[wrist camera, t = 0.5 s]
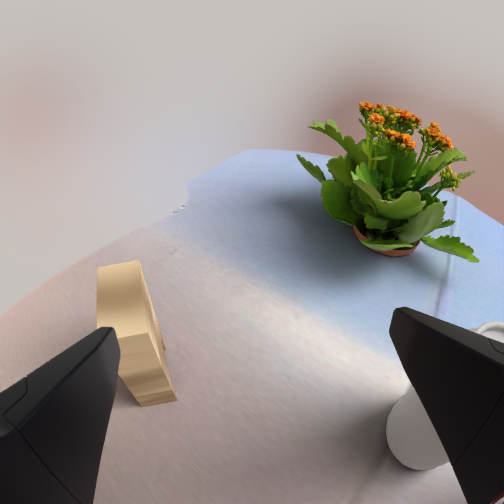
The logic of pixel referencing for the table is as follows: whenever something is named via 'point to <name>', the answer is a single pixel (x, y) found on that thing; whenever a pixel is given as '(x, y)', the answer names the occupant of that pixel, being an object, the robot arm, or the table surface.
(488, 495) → the robot arm
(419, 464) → the can
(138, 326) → the tall wooden block
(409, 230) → the potted flower
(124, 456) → the table surface
